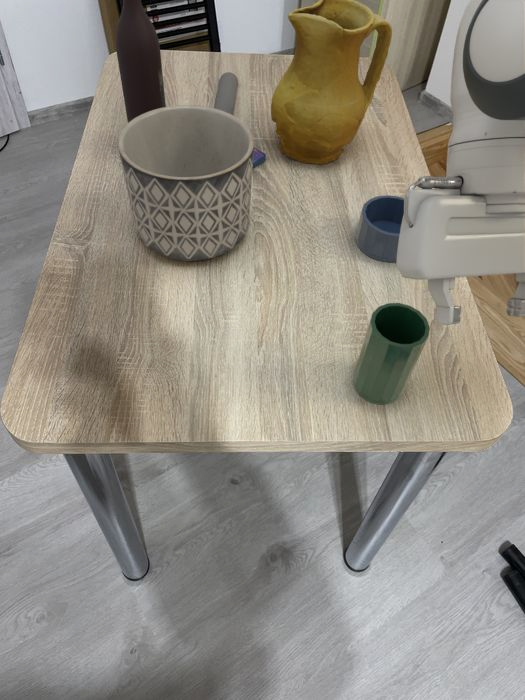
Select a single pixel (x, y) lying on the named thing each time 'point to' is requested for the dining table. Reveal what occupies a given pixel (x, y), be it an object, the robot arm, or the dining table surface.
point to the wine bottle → (139, 61)
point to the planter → (188, 180)
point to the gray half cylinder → (226, 93)
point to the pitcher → (327, 79)
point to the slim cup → (390, 352)
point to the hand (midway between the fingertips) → (484, 319)
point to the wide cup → (380, 227)
